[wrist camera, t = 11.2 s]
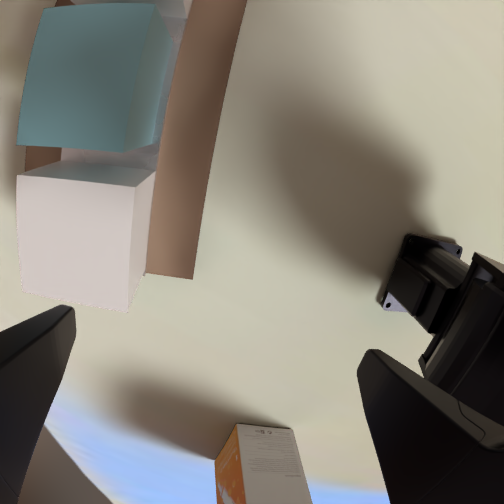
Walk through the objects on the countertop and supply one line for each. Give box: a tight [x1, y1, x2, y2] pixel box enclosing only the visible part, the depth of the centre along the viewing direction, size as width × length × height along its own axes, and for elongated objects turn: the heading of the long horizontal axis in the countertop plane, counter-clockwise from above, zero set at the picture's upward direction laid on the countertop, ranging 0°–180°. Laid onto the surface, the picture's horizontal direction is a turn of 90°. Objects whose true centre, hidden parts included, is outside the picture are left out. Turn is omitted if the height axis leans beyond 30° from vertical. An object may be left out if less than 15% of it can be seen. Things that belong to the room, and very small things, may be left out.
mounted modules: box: [16, 0, 192, 313], centre depth 13 cm, size 6×21×5 cm, turn 168°
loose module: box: [16, 3, 173, 153], centre depth 12 cm, size 5×6×6 cm
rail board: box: [25, 0, 247, 280], centre depth 16 cm, size 12×22×2 cm, turn 168°
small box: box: [215, 424, 313, 504], centre depth 24 cm, size 8×6×13 cm
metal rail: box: [61, 0, 193, 276], centre depth 15 cm, size 6×22×1 cm, turn 168°
